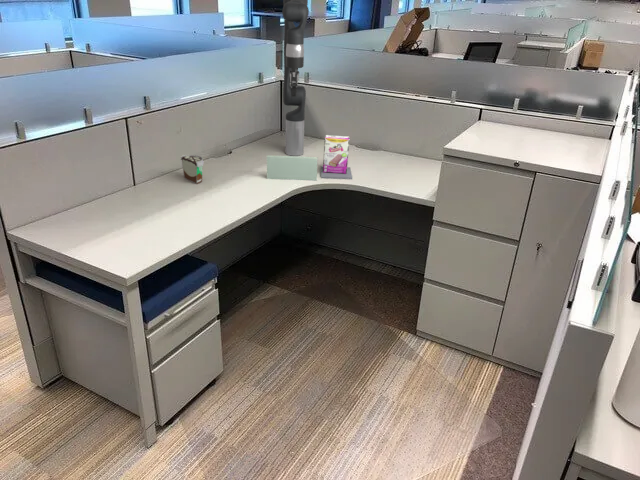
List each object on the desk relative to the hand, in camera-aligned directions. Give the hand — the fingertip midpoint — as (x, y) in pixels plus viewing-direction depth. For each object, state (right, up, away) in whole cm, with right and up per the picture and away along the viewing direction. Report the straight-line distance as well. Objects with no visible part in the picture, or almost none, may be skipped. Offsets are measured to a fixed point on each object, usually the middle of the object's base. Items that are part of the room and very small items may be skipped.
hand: (294, 94), depth 219 cm
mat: (+19, -33, +13) cm, 40 cm away
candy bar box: (+18, -32, +12) cm, 39 cm away
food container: (-42, -38, -1) cm, 56 cm away
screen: (-1, -36, +4) cm, 36 cm away
